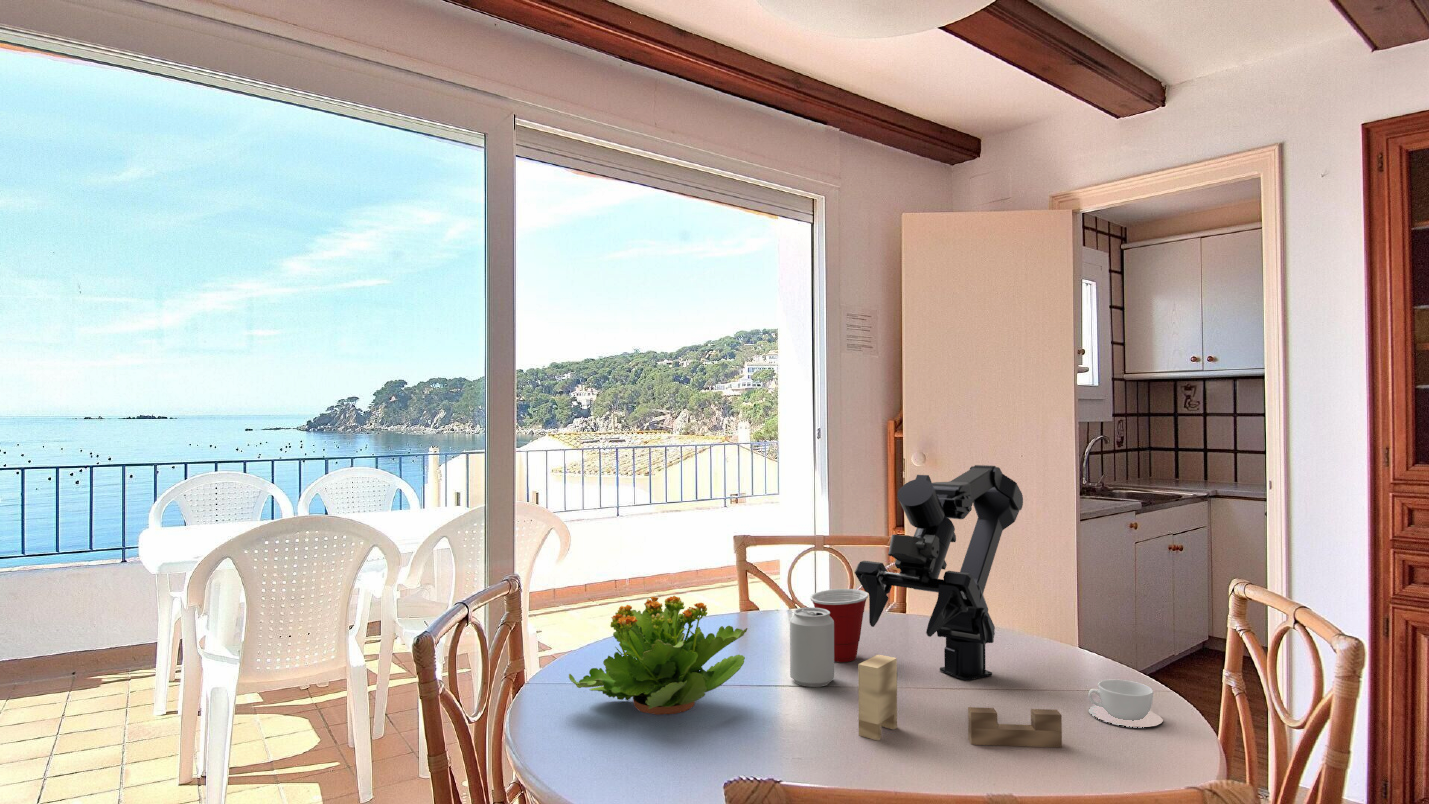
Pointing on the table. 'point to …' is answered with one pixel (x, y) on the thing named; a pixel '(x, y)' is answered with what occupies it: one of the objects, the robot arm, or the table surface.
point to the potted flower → (663, 658)
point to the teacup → (1123, 699)
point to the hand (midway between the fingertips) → (899, 630)
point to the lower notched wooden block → (1015, 729)
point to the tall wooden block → (877, 695)
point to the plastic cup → (843, 619)
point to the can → (812, 647)
